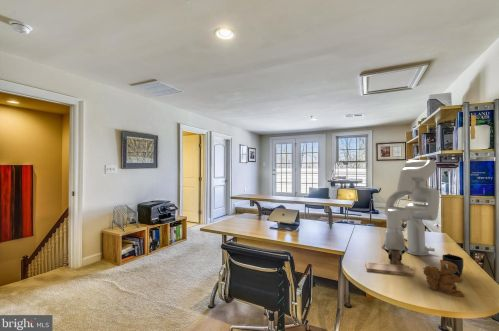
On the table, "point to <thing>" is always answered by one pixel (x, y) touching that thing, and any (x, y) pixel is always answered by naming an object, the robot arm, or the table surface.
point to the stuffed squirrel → (443, 278)
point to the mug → (455, 262)
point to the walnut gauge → (395, 256)
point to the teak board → (389, 268)
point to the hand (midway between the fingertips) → (395, 260)
